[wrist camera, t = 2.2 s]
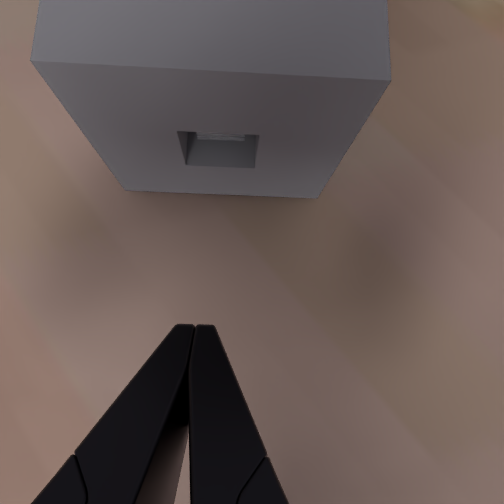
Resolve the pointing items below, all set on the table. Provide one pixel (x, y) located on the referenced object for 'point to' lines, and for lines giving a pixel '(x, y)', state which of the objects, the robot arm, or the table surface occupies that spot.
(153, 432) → the robot arm
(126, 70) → the gray concrete brick
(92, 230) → the table surface
